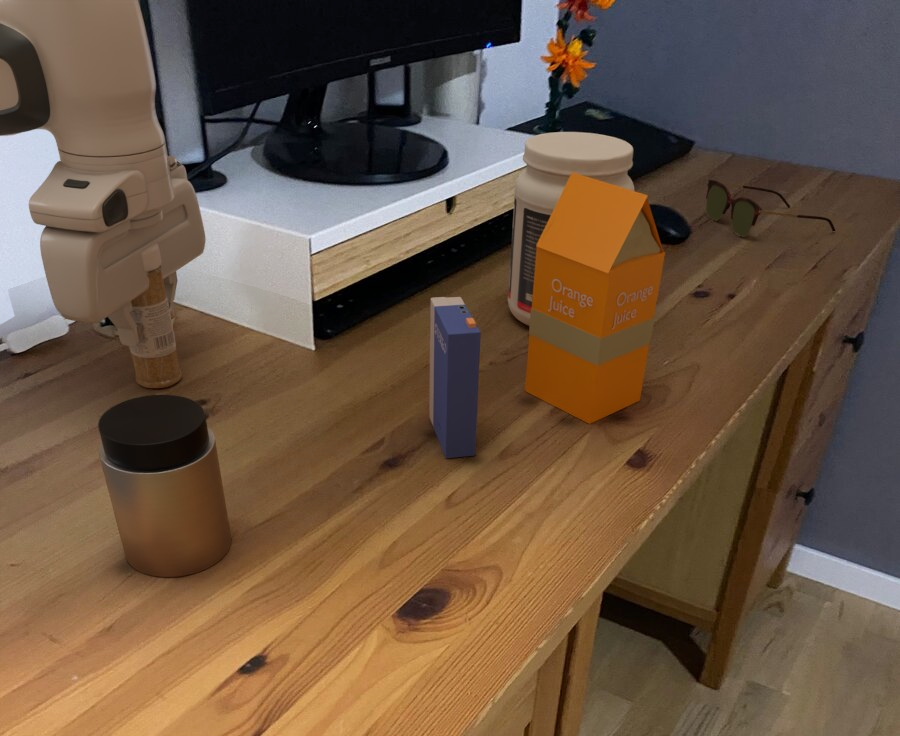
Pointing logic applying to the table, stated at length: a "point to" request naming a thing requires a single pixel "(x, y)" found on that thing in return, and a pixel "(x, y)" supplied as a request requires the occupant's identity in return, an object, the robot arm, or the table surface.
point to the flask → (164, 485)
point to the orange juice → (593, 299)
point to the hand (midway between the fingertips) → (149, 331)
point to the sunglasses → (741, 207)
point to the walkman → (454, 376)
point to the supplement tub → (555, 195)
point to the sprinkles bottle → (154, 329)
